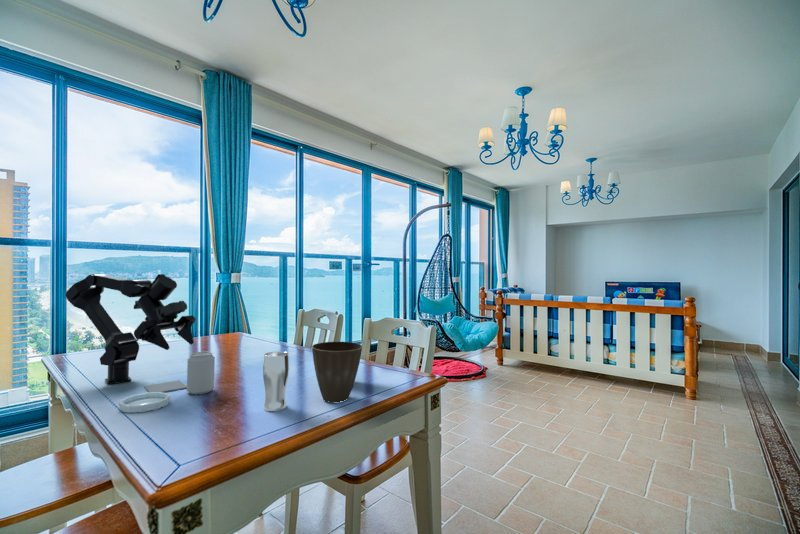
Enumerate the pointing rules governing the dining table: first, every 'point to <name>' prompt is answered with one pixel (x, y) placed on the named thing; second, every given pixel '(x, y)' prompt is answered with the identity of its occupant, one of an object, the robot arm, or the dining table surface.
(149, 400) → the dish
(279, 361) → the beer glass
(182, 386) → the mat
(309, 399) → the dining table surface
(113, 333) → the robot arm
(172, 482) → the dining table surface
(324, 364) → the plant pot
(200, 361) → the can
